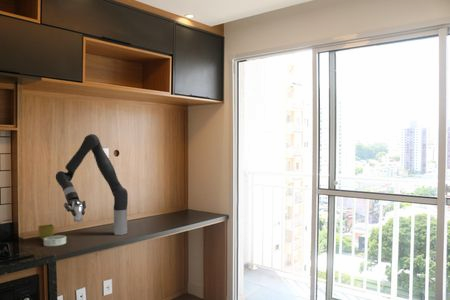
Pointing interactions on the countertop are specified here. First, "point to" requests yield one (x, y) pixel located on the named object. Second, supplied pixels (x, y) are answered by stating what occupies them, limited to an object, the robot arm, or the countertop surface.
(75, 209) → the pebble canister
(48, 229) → the flower pot
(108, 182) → the robot arm
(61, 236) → the bowl
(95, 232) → the countertop surface
